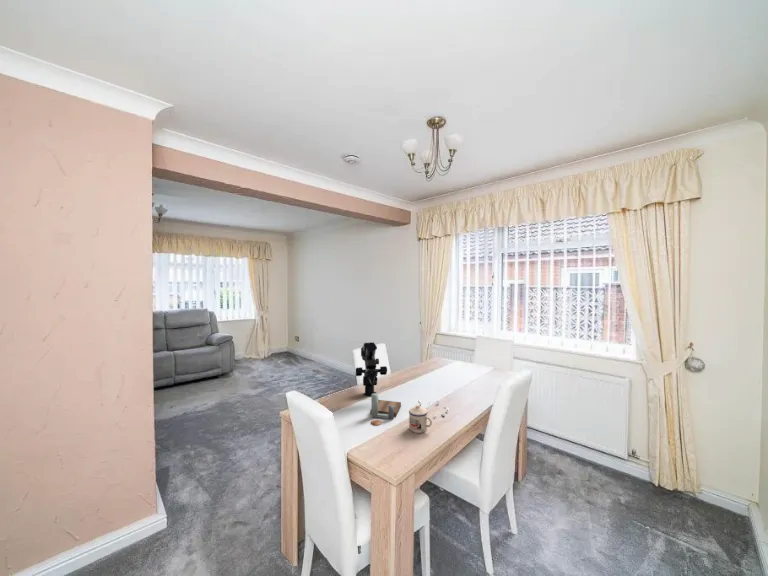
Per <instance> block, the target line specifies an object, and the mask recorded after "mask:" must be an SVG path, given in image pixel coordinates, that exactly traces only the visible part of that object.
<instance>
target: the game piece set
mask: <svg viewBox="0 0 768 576" xmlns="http://www.w3.org/2000/svg"><path fill="white" fill-rule="evenodd" d="M439 402H440V401H439V399H436V404H437V405H439V404H440V403H439ZM418 403H419V404H418ZM430 403H431V401H429V402H427V403H426V404H427V405H430ZM422 404H423V403H422V401H421V400H420V399H419V400H418V402H417V405H420V406H422ZM443 409H445V410H446V411H445V412H444V411H443V413H442V412H441V413H440V415H441V416H442V417H444V416H446V413H447V414H449V410H450V409H449V407H447V406H446V405H444V406H443ZM435 418H436V419H437V418H438V417H437V414H433V419H435Z"/></svg>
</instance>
